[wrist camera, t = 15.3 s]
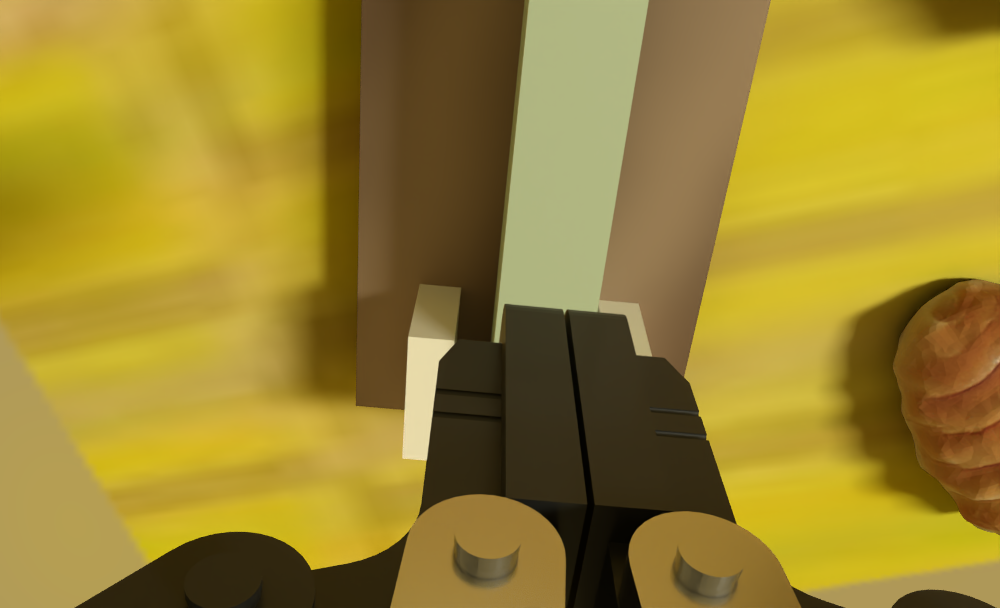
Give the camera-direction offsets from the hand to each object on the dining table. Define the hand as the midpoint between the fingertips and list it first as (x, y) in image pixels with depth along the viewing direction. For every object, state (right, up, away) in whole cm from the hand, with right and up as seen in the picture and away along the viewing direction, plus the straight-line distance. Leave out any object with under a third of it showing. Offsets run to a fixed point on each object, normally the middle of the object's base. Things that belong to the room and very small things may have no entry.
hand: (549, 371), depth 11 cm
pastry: (+16, -2, +18) cm, 24 cm away
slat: (+1, +6, +12) cm, 13 cm away
